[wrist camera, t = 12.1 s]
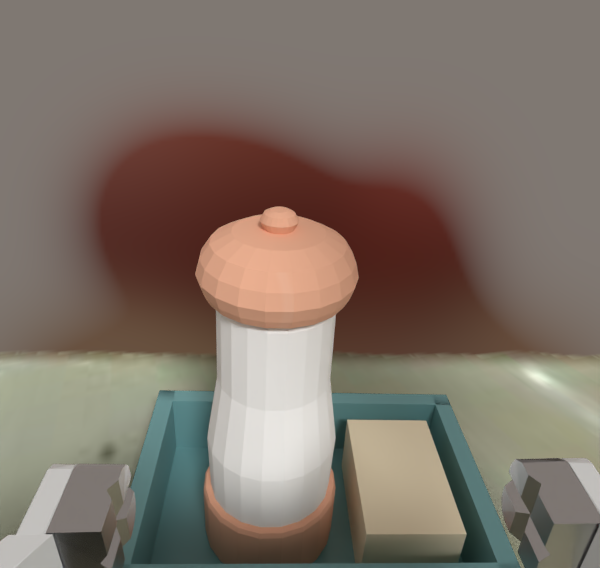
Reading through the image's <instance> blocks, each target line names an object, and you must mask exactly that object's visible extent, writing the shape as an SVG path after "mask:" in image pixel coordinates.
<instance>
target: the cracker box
mask: <svg viewBox="0 0 600 568" xmlns="http://www.w3.org/2000/svg"><path fill="white" fill-rule="evenodd" d="M341 466H342V473H343V480H344V487H345V494H346V501H347V509H348V516H349V523H350V530H351V537H352V544H353V552H354V559H355V563H458V561H459V558H460V554H461V551H462V548H463V545H464V541H465V538H466V535H467V534H466V531H465V528H464V525H463V522H462V520H461V517H460V514H459V511H458V508H457V506H456V503H455V500H454V497H453V494H452V492H451V489H450V486H449V483H448V480H447V478H446V475H445V472H444V469H443V466H442V464H441V461H440V458H439V455H438V452H437V450H436V447H435V444H434V441H433V438H432V435H431V433H430V430H429V427H428V424H427V421H422V420H347V425H346V433H345V441H344V449H343V457H342V465H341Z"/></svg>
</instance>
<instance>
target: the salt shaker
mask: <svg viewBox="0 0 600 568" xmlns="http://www.w3.org/2000/svg"><path fill="white" fill-rule="evenodd" d="M195 275H196V278H197V280H198V282H199V285H200V287H201V289H202V292H203V294H204V296H205V298H206V300H207V301H208V303H209V304H210V306H212V307H213V308H214V309H215V310H216V338H217V339H216V341H217V379H216V385H215V391H214V397H213V403H212V410H211V416H210V422H209V429H208V436H207V441H208V453H209V467H208V469H207V471H206V474H205V482H204V509H205V529H206V533H207V537H208V541H209V544H210V547H211V548H212V550H213V551H214V553H215V554H216V555H217V557H218V558H219V560H220V561H221V562H222V563H224V564H303V563H313V562H314V561H315V560H316V559H317V558H318V556H319V555H320V553H321V552H322V550H323V549H324V547H325V546H326V544H327V541H328V537H329V533H330V529H331V522H332V514H333V505H334V497H335V489H336V487H335V480H334V473H333V470H332V468H331V464H332V458H333V451H334V445H335V438H336V437H335V426H334V415H333V404H332V393H331V382H330V375H331V364H332V353H333V341H334V330H335V319H336V314H337V313H338V312H339V311H340V310H341V309H343V308H344V306H345V305H346V304H347V302H348V301H349V300H350V297H351V295H352V293H353V291H354V289H355V287H356V284H357V281H358V278H359V276H358V270H357V264H356V261H355V258H354V255H353V252H352V250H351V249H350V247H349V245H348V244H347V242H346V240H345V239H344V238H343V237H342V236H341V235H340V234H339V233H338V232H337V231H335V230H333V229H331V228H329V227H327V226H325V225H323V224H320V223H318V222H315V221H312V220H310V219H306V218H303V217H299V216H297V215H296V213H295V212H294V211H293V210H290V209H288V208H285V207H273V208H269V209H267V210H265V211H264V213H263V214H262V215H256V216H252V217H248V218H244V219H240V220H237V221H234V222H231V223H229V224H227V225H224V226H222V227H220V228H218V229H217V230H216V231H215V232H214V233H213V234H212V235H211V236H210V237H209V239H208V240H207V242H206V243H205V245H204V246H203V247H202V249H201V253H200V257H199V261H198V265H197V269H196V273H195Z"/></svg>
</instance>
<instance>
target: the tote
mask: <svg viewBox="0 0 600 568" xmlns="http://www.w3.org/2000/svg"><path fill="white" fill-rule="evenodd" d="M213 397H214V391H161V390H160V391H159V395H158V398H157V401H156V405H155V408H154V411H153V415H152V418H151V421H150V425H149V428H148V431H147V435H146V438H145V442H144V445H143V448H142V452H141V455H140V458H139V462H138V465H137V468H136V472H135V475H134V478H133V482H132V485H131V489H132V490H133V491H134V494H135V499H136V513H135V522H134V528H133V531H132V535H131V539H130V540H129V541H128V542H127V543H126V544H125V545H124V546H123V552H124V557H125V561H124V565H123V568H520V565H519V563H518V561H517V558H516V556H515V554H514V551H513V549H512V547H511V544H510V542H509V540H508V537H507V535H506V533H505V530H504V528H503V526H502V524H501V521H500V519H499V517H498V514H497V512H496V510H495V507H494V505H493V503H492V500H491V498H490V496H489V493H488V491H487V489H486V486H485V484H484V482H483V479H482V477H481V475H480V472H479V470H478V468H477V465H476V463H475V461H474V458H473V456H472V454H471V451H470V449H469V447H468V444H467V442H466V440H465V437H464V435H463V433H462V431H461V428H460V426H459V424H458V421H457V419H456V417H455V414H454V412H453V410H452V407H451V405H450V403H449V400H448V398H447V396H446V395H428V394H361V393H332V404H333V415H334V426H335V437H336V438H335V445H334V451H333V458H332V464H331V468H332V470H333V473H334V480H335V487H336V489H335V497H334V505H333V514H332V522H331V529H330V533H329V537H328V541H327V544H326V546H325V547H324V549H323V550H322V552H321V553H320V555H319V556H318V558H317V559H316V560H315V561H314V562H313V563H303V564H224V563H222V562H221V561H220V560H219V558H218V557H217V555H216V554H215V553H214V551H213V550H212V548H211V547H210V544H209V541H208V537H207V533H206V529H205V509H204V482H205V474H206V471H207V469H208V467H209V453H208V441H207V436H208V429H209V422H210V416H211V410H212V403H213ZM347 420H422V421H427V424H428V427H429V430H430V433H431V435H432V438H433V441H434V444H435V447H436V450H437V452H438V455H439V458H440V461H441V464H442V466H443V469H444V472H445V475H446V478H447V480H448V483H449V486H450V489H451V492H452V494H453V497H454V500H455V503H456V506H457V508H458V511H459V514H460V517H461V520H462V522H463V525H464V528H465V531H466V534H467V535H466V538H465V541H464V545H463V548H462V551H461V554H460V558H459V561H458V563H355V559H354V552H353V544H352V537H351V530H350V523H349V516H348V509H347V501H346V494H345V487H344V480H343V473H342V466H341V465H342V457H343V449H344V441H345V433H346V425H347Z"/></svg>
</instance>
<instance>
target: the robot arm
mask: <svg viewBox="0 0 600 568" xmlns="http://www.w3.org/2000/svg"><path fill="white" fill-rule="evenodd" d="M509 473H510V475H511V477H512V480H511V481H510V482H509V483H508V484H507V485H505V486H504V490H503V494H502V512H503V516H504V520H505V523H506V525H507V528H508V530H509V532H510V533H511V534H512V535H513V536H515V537H516V538H517V539H518V540H519V541H521V543H520V546H519V549H518V553H519V556H520V558H521V560H522V563H523V565H524V567H525V568H600V474H599V473H598V471H597V470H596V468H595V467H594V465H593V464H592V463H591V462H590V461H589V460H588V459H586V458H562V459H560V458H547V459H515V460H514V461H513V462H512V464H511V467H510V470H509ZM130 479H131V473H130V469H129V465H124V464H53V465H52V466H51V467H50V468H49V469H48V470H47V471H46V473H45V475H44V477H43V479H42V481H41V484H40V486H39V488H38V490H37V492H36V494H35V496H34V498H33V500H32V502H31V504H30V506H29V508H28V510H27V512H26V514H25V516H24V518H23V520H22V522H21V524H20V526H19V529H18V531H17V533H16V535H7V536H6V537H5V538H3V539H2V540H1V541H0V568H123V565H124V561H125V557H124V552H123V546H124V545H125V544H126V543H127V542H128V541H129V540H130V539H131V535H132V531H133V528H134V522H135V513H136V499H135V494H134V491H133V490H132V489H131V488H129V487H128V486H129V483H130Z"/></svg>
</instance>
